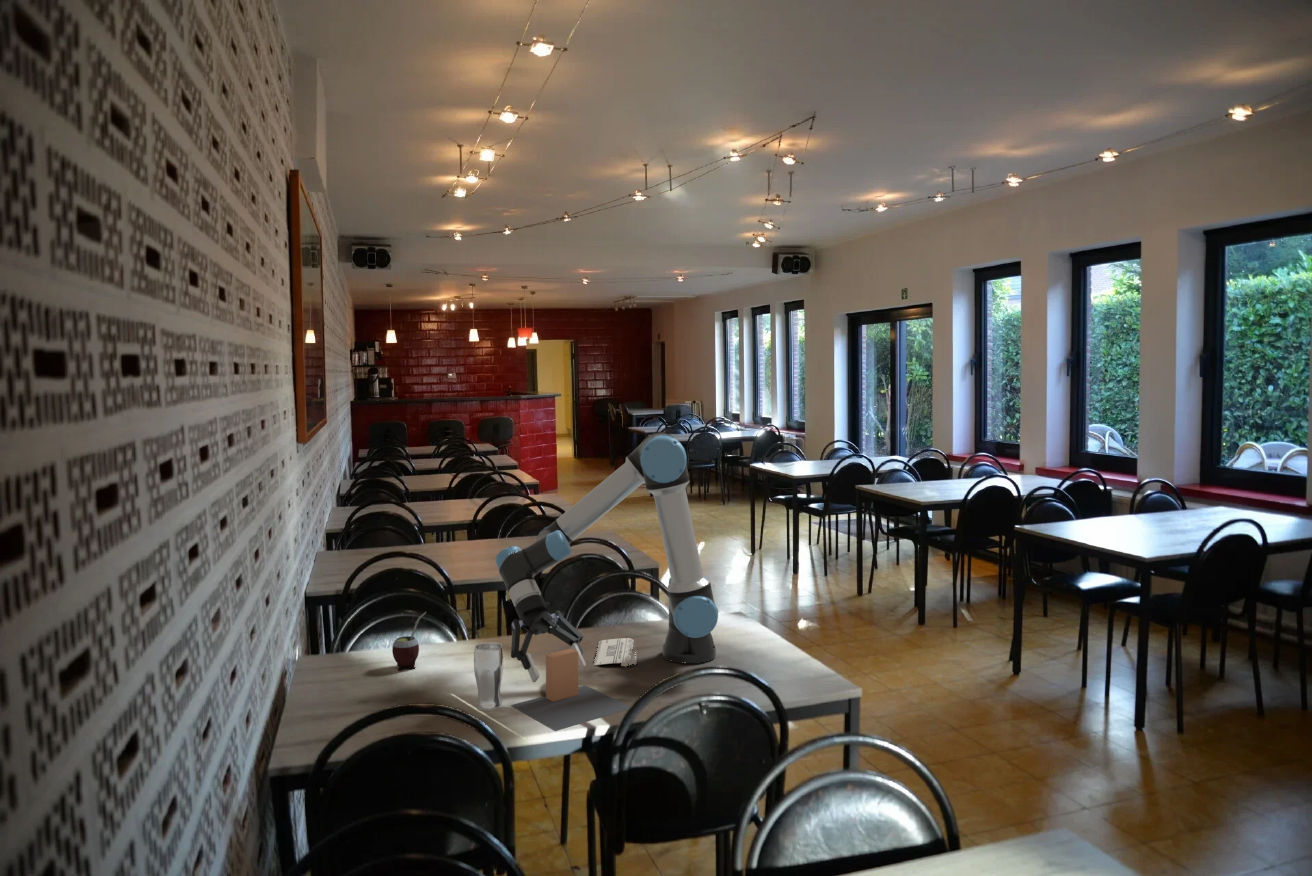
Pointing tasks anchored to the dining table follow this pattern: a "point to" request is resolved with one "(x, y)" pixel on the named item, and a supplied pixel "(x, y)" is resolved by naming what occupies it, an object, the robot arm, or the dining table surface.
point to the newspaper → (615, 651)
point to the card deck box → (561, 674)
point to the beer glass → (488, 674)
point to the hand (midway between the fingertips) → (560, 673)
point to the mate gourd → (406, 650)
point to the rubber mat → (571, 708)
